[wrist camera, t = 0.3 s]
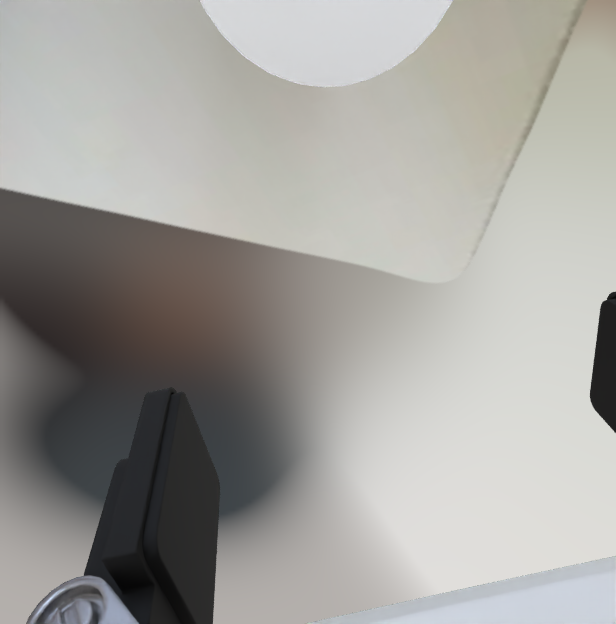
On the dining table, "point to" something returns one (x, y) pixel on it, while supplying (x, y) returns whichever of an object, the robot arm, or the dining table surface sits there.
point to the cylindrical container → (326, 35)
